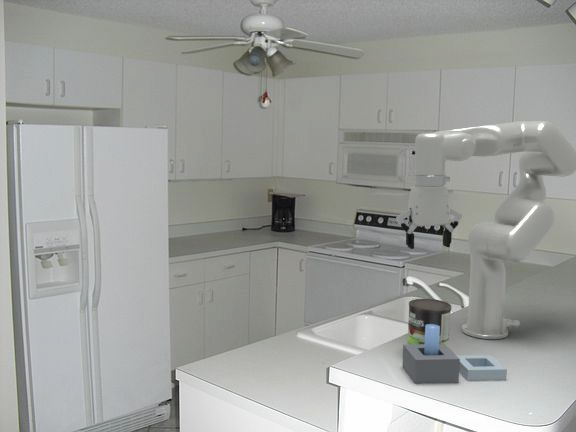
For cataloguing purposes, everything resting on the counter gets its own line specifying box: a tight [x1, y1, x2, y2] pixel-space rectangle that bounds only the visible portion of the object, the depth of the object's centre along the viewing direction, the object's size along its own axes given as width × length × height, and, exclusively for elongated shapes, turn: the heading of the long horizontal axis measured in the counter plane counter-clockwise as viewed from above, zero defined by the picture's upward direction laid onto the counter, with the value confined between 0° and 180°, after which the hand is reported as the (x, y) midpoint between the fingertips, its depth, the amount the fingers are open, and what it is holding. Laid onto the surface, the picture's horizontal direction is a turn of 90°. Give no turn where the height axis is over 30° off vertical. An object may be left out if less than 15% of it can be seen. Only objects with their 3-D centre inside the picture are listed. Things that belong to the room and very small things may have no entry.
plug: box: [424, 324, 440, 355], centre depth 138 cm, size 3×3×12 cm
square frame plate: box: [456, 354, 508, 382], centre depth 140 cm, size 9×9×3 cm
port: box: [402, 343, 460, 385], centre depth 138 cm, size 10×10×6 cm
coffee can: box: [406, 298, 452, 349], centre depth 149 cm, size 10×10×14 cm
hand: (428, 247), depth 157 cm, fingers open, 9 cm apart
